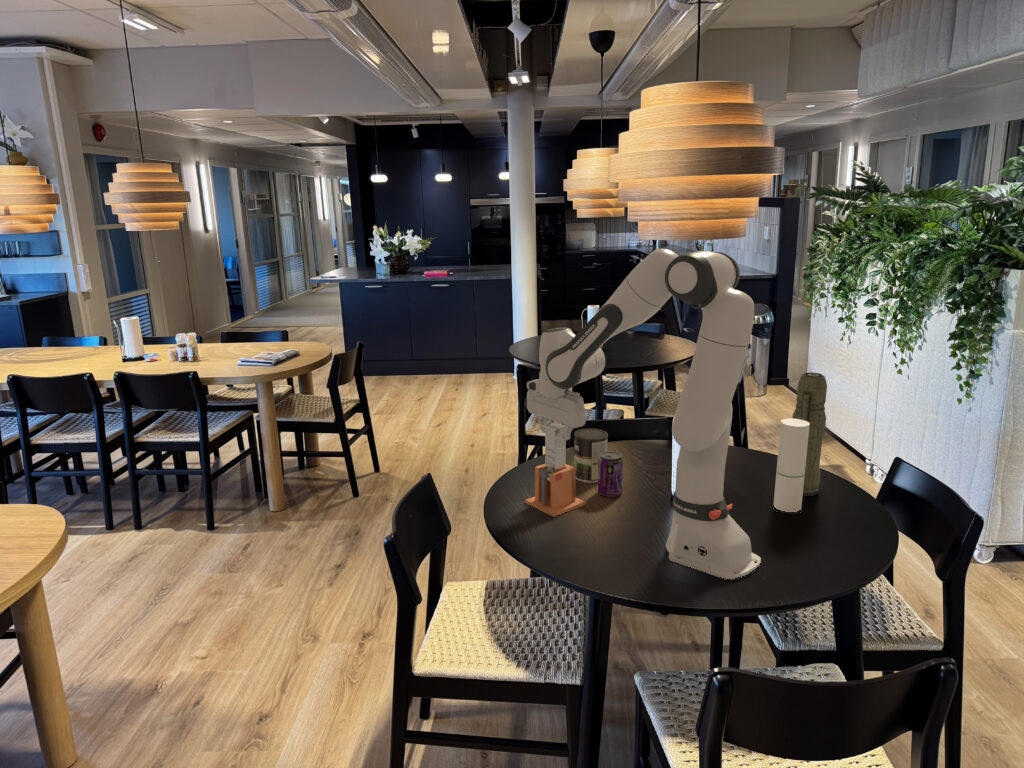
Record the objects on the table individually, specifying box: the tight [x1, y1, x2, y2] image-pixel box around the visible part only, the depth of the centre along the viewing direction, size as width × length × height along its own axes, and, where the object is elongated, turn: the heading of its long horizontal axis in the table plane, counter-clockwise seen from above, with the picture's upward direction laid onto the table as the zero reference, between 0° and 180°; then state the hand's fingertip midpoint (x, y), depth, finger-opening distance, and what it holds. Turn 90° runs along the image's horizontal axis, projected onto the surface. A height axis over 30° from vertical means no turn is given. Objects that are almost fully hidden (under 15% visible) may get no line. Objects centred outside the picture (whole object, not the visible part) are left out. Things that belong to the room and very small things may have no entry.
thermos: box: [791, 372, 828, 493], centre depth 203 cm, size 9×12×35 cm
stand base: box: [524, 463, 586, 518], centre depth 199 cm, size 12×12×11 cm
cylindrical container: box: [773, 417, 810, 512], centre depth 192 cm, size 7×7×25 cm
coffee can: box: [573, 427, 609, 484], centre depth 218 cm, size 10×10×14 cm
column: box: [544, 422, 567, 482], centre depth 196 cm, size 4×5×16 cm
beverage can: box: [597, 450, 624, 498], centre depth 205 cm, size 7×7×12 cm
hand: (555, 435), depth 195 cm, fingers open, 7 cm apart
